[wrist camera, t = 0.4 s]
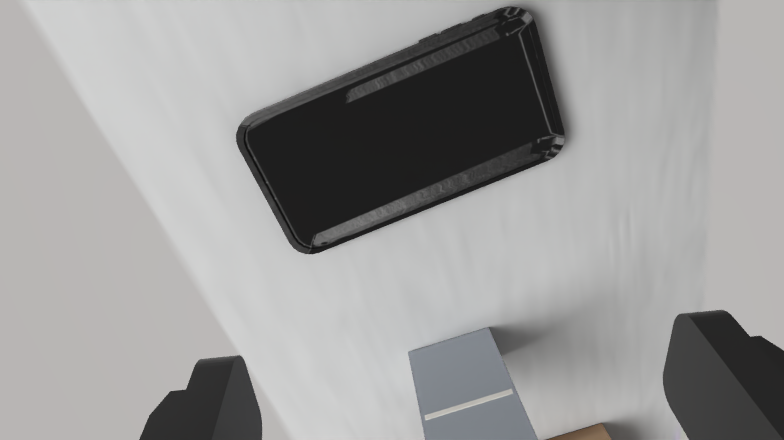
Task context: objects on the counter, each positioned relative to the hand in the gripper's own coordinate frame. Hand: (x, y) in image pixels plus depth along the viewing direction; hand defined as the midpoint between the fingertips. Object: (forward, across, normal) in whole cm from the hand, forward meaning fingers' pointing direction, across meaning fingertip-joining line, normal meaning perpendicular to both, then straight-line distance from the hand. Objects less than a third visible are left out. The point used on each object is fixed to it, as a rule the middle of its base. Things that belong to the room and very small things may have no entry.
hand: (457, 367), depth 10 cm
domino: (+17, -2, +16) cm, 24 cm away
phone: (+19, 0, +3) cm, 19 cm away
